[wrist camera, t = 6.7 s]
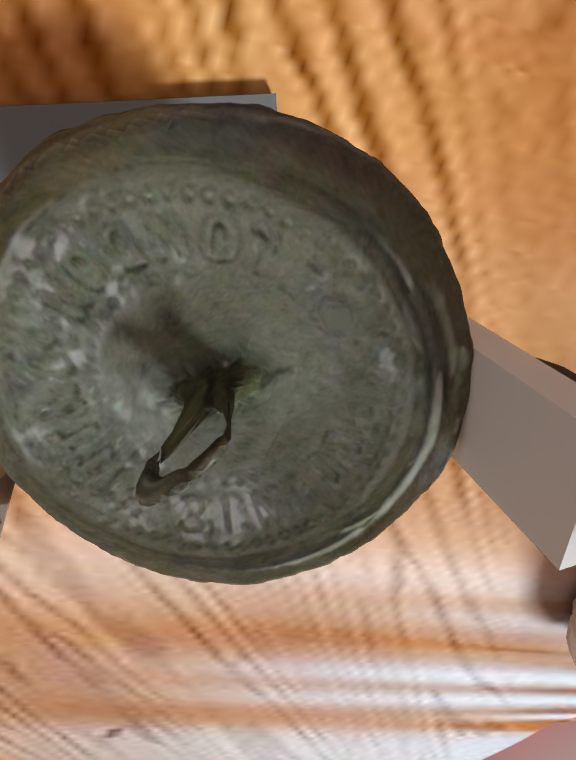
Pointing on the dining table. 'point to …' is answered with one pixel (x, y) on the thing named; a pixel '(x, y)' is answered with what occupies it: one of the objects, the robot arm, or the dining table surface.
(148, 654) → the dining table surface
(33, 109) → the placemat
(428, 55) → the dining table surface
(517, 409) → the robot arm
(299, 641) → the dining table surface
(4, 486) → the coffee box
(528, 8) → the dining table surface
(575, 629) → the vase
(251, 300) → the lid
